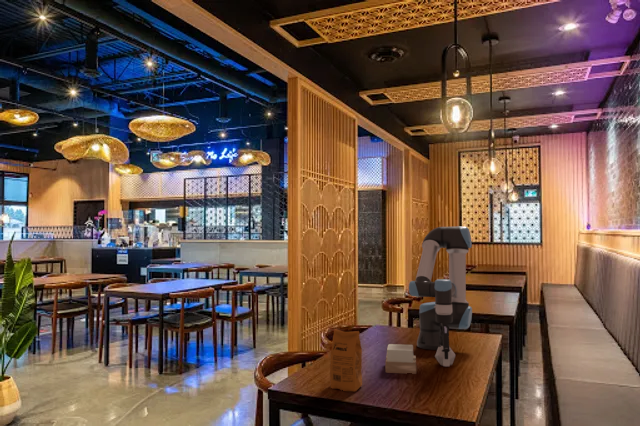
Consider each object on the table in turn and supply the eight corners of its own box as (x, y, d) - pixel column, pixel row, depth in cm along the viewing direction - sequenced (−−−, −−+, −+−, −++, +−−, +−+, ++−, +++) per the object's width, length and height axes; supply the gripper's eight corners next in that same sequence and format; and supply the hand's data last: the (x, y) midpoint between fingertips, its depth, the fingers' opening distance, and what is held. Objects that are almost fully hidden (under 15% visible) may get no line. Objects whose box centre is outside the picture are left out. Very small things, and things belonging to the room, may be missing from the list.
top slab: (388, 355, 204) (388, 344, 204) (413, 356, 202) (413, 344, 202) (387, 361, 193) (386, 349, 194) (413, 362, 191) (412, 350, 191)
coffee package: (337, 381, 181) (337, 326, 183) (365, 386, 175) (364, 329, 177) (325, 388, 173) (325, 331, 174) (354, 393, 167) (353, 334, 168)
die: (452, 369, 198) (460, 350, 201) (434, 359, 200) (443, 340, 203) (447, 371, 205) (455, 352, 209) (430, 361, 207) (438, 342, 211)
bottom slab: (386, 365, 205) (386, 354, 206) (415, 366, 203) (415, 355, 203) (385, 373, 193) (385, 361, 193) (416, 375, 190) (416, 363, 190)
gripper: (433, 309, 217) (435, 356, 215) (437, 317, 195) (438, 369, 194) (449, 309, 215) (451, 357, 214) (455, 317, 194) (456, 370, 193)
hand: (445, 363), depth 204 cm, fingers closed on die, 9 cm apart
